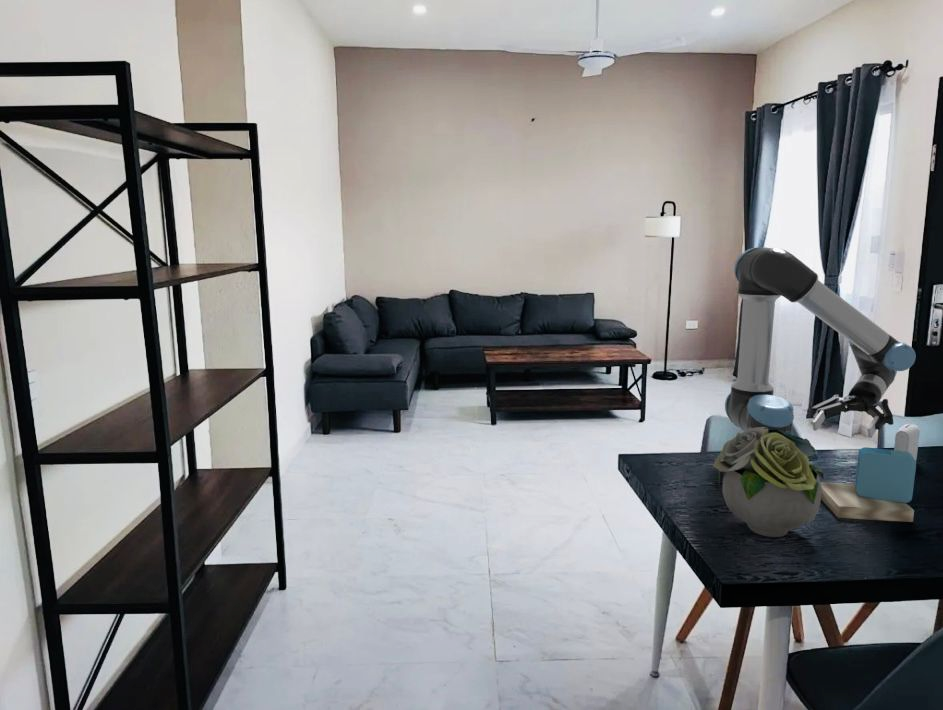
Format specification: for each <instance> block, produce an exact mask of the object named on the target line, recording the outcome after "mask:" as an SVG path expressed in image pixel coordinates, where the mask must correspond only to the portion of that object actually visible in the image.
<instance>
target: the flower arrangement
mask: <svg viewBox="0 0 943 710" xmlns="http://www.w3.org/2000/svg"><path fill="white" fill-rule="evenodd" d="M764 428H767V427H756V428H751V427H749V428H748V429H747V430H746V431H745V432H744V431H743V432H742V433H741V432H737V434H736V436H735V437H734V438H732V439H730V440H728V441H726V442H725V443H724V444H723V446H722V450H721V451H720V453H719V454H718V456H717V458H716V459H715V460H714V463H713V465H712V466H713V467H714V468H715V469H717V470H718V485H720V484H721V481H722V492H721V493H722V495H723V498H724V502H725V505H726V506H727V508H728V510H729V511H730V512H731V513H732V514H733V515H734V516H735V517H736V518H738V519H739V520H741V521H742V522H744V523H746V525H747V527H748V528H749V529H750V531H751V532H753V533H755V534H758V535H760V536H763V537H769V538H781V537H784V536H786V535H787V534H789V531H793V530H798V529H800V528H801V527H803V526H805V525H807V524H808V523H811V522H812V521H814V520H815V518H816V517H817V513H818V512H819V510H820V507H821V506H820V505H821V501H822V499H821V493H822V489H821V482H822V481H821V480H820V477H821V478H822V479H824V472H823V470H822V469H821V468H820V467H818V466H815V465H812V464H810V460H811V461H812V460H813V461H814V460H819V458H818V455H817V453H818V451H816V448H815V447H814V446H813V445H812V444H811V441H810V440H809V439H808V438H803V437H800V436H796V435H795V432H794V430H793V429H792V430H791V431H789V432H788V431H786V432H787V433H786V432H784V431H780V430H770V429H769V430H768V429H764ZM812 452H814V454H813V455H810V454H811V453H812ZM723 474H724V475H723ZM722 477H723V478H722Z"/></svg>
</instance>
